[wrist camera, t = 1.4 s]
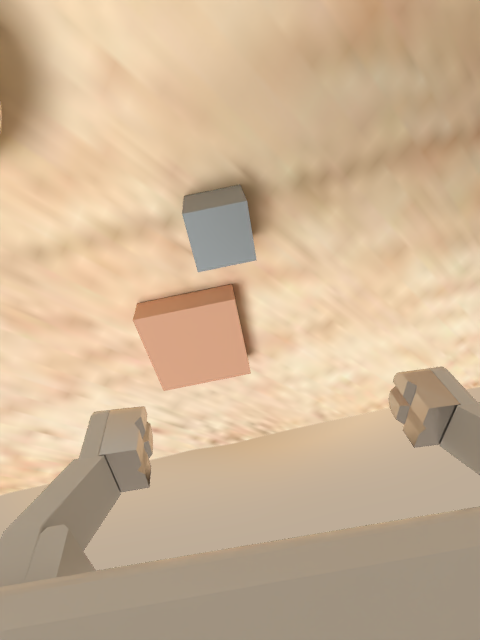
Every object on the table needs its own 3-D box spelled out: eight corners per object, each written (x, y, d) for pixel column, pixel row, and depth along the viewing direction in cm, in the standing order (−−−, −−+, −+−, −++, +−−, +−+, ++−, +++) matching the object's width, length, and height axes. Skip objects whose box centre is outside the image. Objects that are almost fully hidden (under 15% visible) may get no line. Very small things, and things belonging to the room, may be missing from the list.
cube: (240, 184, 30) (247, 200, 26) (248, 237, 33) (256, 260, 29) (184, 195, 30) (182, 214, 26) (197, 248, 33) (197, 272, 29)
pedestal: (232, 284, 36) (234, 299, 33) (247, 356, 42) (250, 373, 39) (137, 303, 36) (132, 320, 33) (165, 372, 42) (163, 390, 39)
